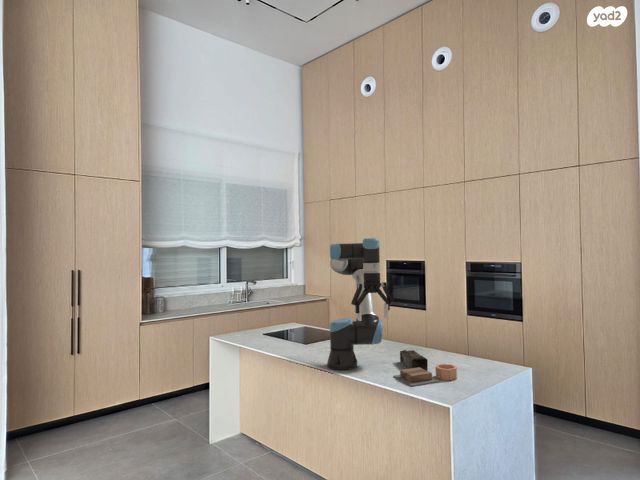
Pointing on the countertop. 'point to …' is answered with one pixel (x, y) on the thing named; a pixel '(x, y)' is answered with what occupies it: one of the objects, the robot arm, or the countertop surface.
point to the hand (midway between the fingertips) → (373, 319)
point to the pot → (446, 372)
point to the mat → (416, 382)
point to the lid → (416, 375)
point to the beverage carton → (413, 360)
